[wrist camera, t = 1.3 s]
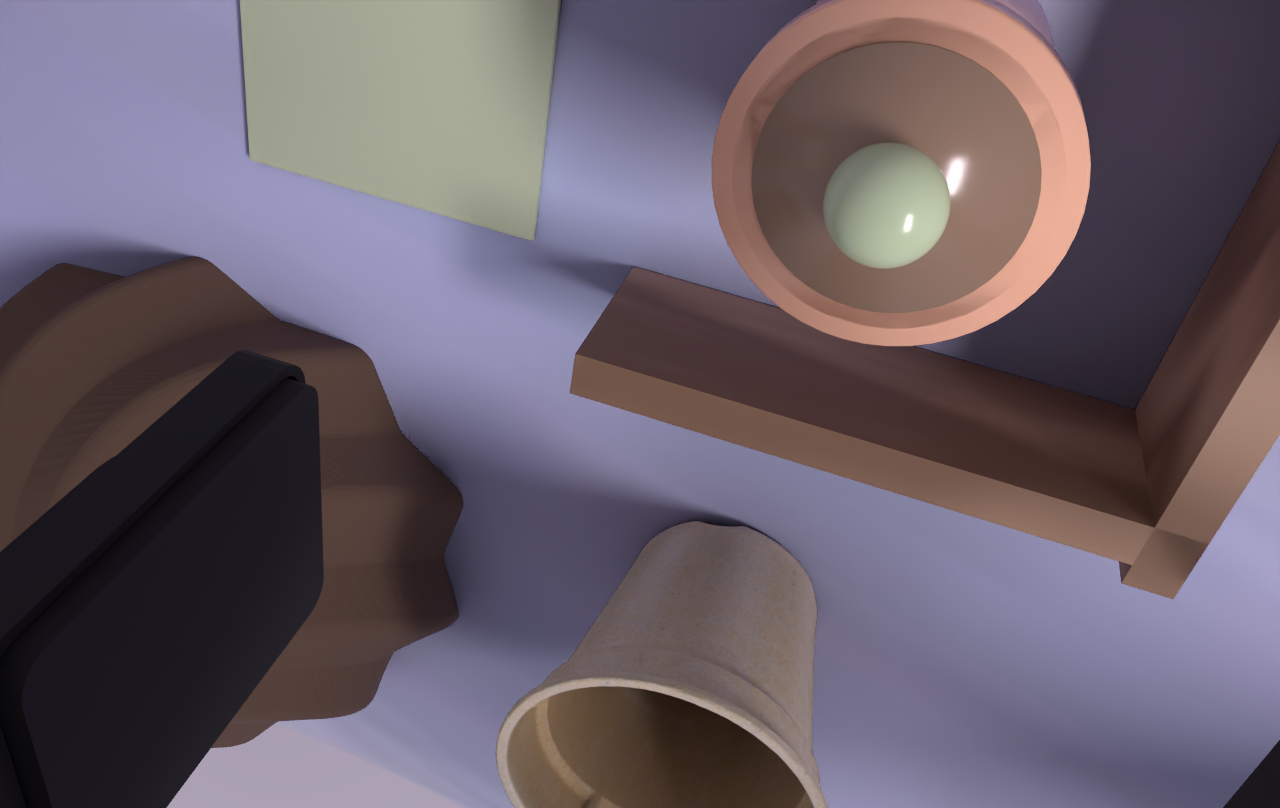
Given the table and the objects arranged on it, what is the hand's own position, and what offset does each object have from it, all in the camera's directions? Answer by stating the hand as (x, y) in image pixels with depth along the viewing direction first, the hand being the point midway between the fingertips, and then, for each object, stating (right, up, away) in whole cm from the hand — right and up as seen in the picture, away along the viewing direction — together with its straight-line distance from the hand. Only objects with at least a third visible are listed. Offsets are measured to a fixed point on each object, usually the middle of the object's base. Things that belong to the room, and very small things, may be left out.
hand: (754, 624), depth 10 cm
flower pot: (+2, -4, +26) cm, 26 cm away
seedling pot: (+6, +10, +15) cm, 19 cm away
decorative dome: (-17, -1, +31) cm, 35 cm away
